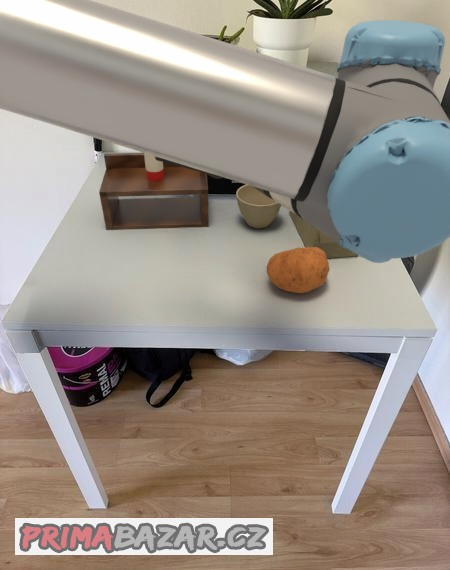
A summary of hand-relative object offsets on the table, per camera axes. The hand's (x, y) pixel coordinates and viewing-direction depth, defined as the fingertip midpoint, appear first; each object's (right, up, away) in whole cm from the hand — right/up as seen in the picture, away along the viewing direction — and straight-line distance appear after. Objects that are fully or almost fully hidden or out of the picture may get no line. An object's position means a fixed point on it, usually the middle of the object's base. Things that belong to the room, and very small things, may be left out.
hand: (192, 115), depth 63 cm
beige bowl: (+12, -10, +35) cm, 38 cm away
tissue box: (+25, -13, +32) cm, 43 cm away
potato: (+17, -24, +18) cm, 35 cm away
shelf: (-10, -8, +37) cm, 39 cm away
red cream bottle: (-10, -1, +31) cm, 33 cm away
